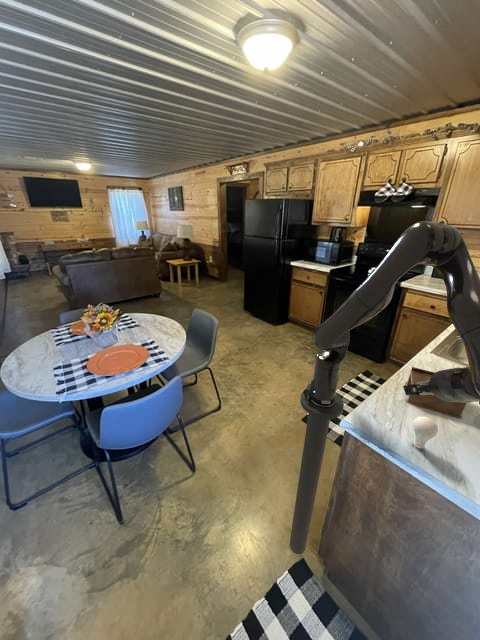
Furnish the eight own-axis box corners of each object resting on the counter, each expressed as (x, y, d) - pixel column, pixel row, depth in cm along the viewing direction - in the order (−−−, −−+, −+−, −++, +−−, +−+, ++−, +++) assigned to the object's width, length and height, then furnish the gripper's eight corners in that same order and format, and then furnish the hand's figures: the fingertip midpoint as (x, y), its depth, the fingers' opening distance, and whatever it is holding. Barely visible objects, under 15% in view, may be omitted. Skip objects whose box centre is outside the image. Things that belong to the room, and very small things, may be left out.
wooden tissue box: (407, 402, 100) (413, 384, 96) (407, 382, 111) (412, 366, 108) (459, 418, 92) (467, 399, 89) (453, 395, 103) (460, 378, 100)
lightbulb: (431, 458, 77) (443, 430, 73) (407, 450, 80) (417, 423, 75) (427, 442, 82) (438, 415, 78) (405, 436, 85) (414, 409, 80)
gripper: (485, 364, 59) (446, 370, 75) (417, 373, 62) (393, 377, 77) (499, 398, 57) (456, 397, 72) (428, 406, 59) (401, 404, 75)
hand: (424, 387), depth 75 cm, fingers open, 8 cm apart
